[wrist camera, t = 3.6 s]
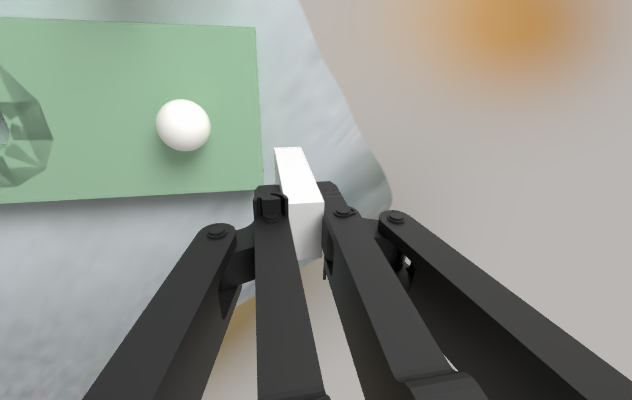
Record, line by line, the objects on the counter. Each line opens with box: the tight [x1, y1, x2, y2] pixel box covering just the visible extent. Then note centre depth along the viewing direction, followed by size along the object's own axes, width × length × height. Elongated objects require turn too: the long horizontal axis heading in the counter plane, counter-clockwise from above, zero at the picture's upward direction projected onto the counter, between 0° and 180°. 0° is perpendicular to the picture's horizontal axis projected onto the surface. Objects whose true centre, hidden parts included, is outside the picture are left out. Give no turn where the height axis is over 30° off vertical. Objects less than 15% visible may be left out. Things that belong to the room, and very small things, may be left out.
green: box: [0, 17, 264, 204], centre depth 20 cm, size 14×29×15 cm, turn 89°
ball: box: [156, 99, 211, 151], centre depth 24 cm, size 4×4×4 cm
